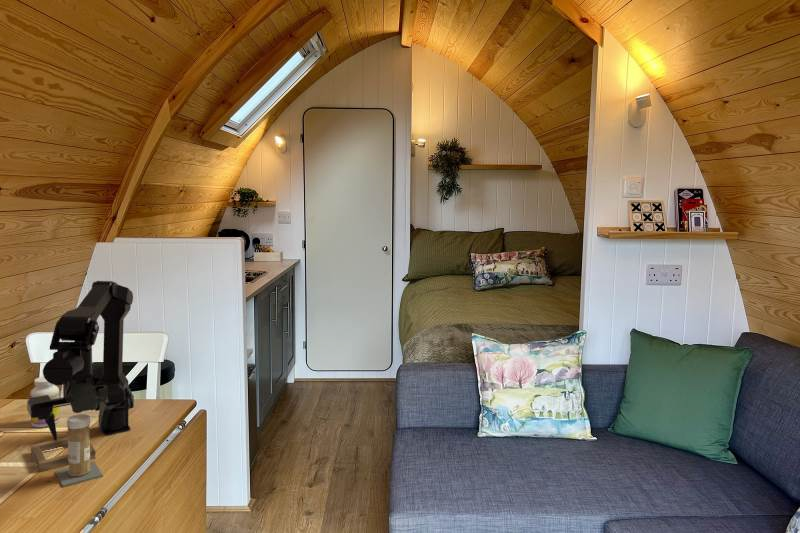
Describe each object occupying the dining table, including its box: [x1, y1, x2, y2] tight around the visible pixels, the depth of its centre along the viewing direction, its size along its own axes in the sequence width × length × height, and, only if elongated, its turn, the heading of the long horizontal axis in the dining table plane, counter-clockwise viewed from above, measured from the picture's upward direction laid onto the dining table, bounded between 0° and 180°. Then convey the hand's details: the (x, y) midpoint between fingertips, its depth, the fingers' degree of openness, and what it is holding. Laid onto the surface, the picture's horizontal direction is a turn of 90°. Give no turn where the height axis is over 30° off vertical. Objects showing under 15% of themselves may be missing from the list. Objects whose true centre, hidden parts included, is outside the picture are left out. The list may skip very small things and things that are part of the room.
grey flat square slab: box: [55, 460, 104, 488], centre depth 126 cm, size 8×8×1 cm
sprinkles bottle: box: [66, 413, 91, 477], centre depth 125 cm, size 5×5×13 cm
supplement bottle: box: [29, 376, 60, 428], centre depth 150 cm, size 7×7×13 cm
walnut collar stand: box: [30, 436, 96, 473], centre depth 134 cm, size 12×12×2 cm
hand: (78, 435), depth 125 cm, fingers open, 9 cm apart
